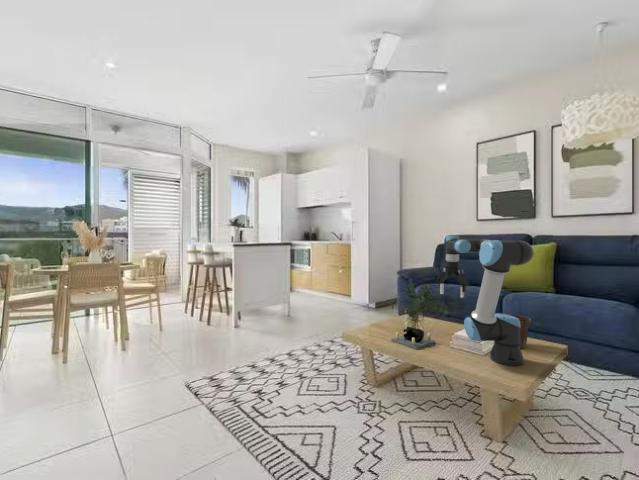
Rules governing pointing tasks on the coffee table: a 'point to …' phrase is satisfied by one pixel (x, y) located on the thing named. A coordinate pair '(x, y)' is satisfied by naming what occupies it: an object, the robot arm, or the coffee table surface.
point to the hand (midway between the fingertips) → (451, 295)
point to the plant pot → (523, 329)
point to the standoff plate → (409, 343)
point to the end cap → (413, 334)
